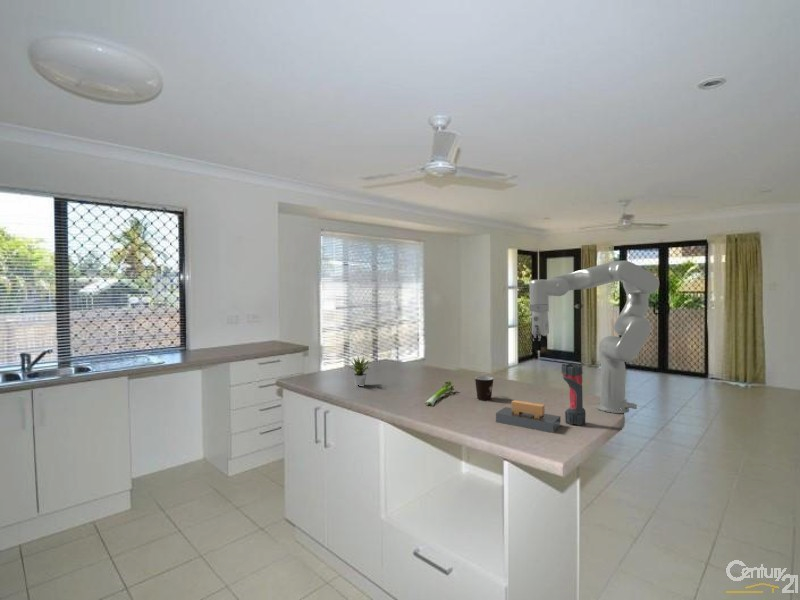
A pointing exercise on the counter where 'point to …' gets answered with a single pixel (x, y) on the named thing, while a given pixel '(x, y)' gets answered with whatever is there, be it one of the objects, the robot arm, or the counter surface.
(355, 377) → the house plant
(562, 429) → the counter surface
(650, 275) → the robot arm
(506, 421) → the dark gray slotted block
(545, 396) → the counter surface
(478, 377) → the coffee mug
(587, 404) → the counter surface
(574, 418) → the flashlight
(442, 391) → the green celery stalk
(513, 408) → the tan bridge block
